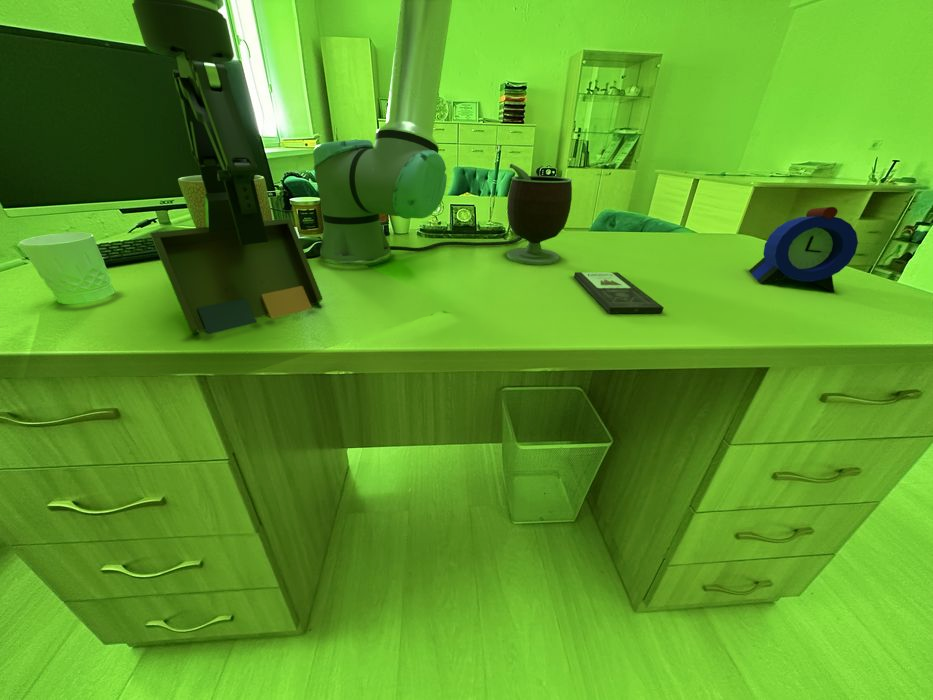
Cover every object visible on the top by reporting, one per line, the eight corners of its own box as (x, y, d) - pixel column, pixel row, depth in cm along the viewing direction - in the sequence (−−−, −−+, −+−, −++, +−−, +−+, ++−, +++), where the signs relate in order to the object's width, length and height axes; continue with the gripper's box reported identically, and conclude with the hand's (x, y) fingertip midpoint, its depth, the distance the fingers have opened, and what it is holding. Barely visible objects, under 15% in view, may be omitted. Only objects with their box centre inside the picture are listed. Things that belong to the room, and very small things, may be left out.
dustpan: (286, 228, 59) (301, 187, 49) (317, 305, 60) (338, 281, 50) (153, 243, 49) (137, 197, 39) (192, 336, 50) (186, 314, 40)
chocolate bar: (610, 307, 59) (574, 272, 75) (608, 313, 60) (574, 276, 75) (663, 307, 60) (617, 272, 75) (662, 312, 60) (616, 276, 76)
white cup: (47, 314, 55) (7, 247, 50) (66, 296, 61) (32, 234, 56) (114, 305, 58) (83, 241, 53) (126, 289, 64) (99, 230, 59)
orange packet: (301, 288, 58) (302, 285, 57) (311, 311, 58) (312, 309, 57) (260, 297, 55) (261, 294, 54) (271, 321, 55) (271, 319, 54)
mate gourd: (536, 247, 96) (546, 161, 86) (574, 260, 86) (591, 165, 76) (487, 254, 89) (491, 161, 79) (522, 270, 79) (532, 166, 69)
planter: (224, 258, 81) (201, 183, 74) (187, 246, 89) (162, 177, 81) (293, 243, 94) (279, 177, 86) (255, 233, 102) (239, 173, 94)
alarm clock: (761, 284, 74) (796, 205, 67) (746, 267, 84) (775, 197, 77) (836, 294, 70) (882, 211, 63) (811, 275, 80) (849, 202, 73)
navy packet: (245, 300, 53) (246, 297, 52) (256, 325, 53) (256, 323, 52) (197, 310, 50) (196, 307, 49) (208, 337, 50) (208, 335, 49)
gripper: (122, 17, 41) (186, 214, 52) (140, -42, 25) (228, 261, 36) (201, 30, 45) (245, 209, 56) (259, -13, 29) (305, 249, 40)
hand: (239, 231), depth 46 cm, fingers open, 13 cm apart
